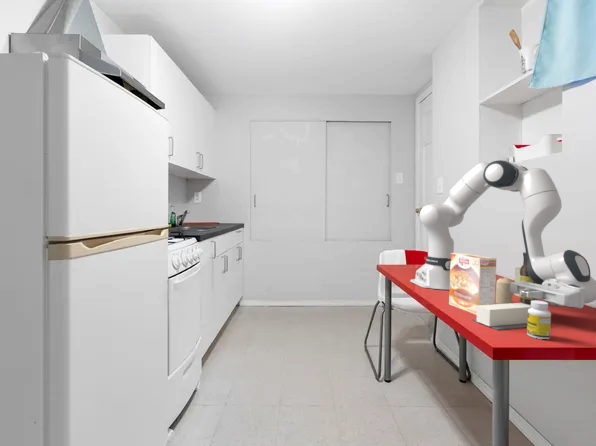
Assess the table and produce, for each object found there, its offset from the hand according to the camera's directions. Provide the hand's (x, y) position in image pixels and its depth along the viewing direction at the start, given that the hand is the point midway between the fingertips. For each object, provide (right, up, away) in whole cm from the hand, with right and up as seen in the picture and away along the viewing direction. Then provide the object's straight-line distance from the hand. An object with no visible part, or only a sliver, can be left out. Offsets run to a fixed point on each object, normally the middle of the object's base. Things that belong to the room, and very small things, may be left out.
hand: (523, 293), depth 112 cm
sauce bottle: (+18, -9, +25) cm, 32 cm away
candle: (+7, -9, +23) cm, 26 cm away
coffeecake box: (-10, -9, +14) cm, 19 cm away
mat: (-7, -9, -2) cm, 12 cm away
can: (+26, -9, +38) cm, 47 cm away
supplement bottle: (-5, -9, -14) cm, 17 cm away
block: (+2, -6, +1) cm, 6 cm away
